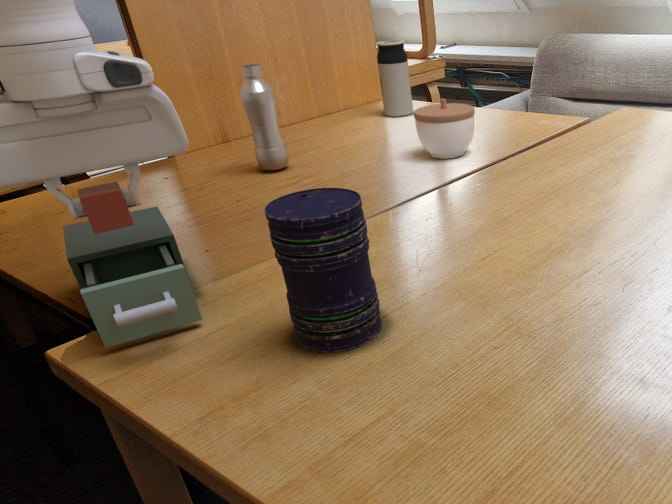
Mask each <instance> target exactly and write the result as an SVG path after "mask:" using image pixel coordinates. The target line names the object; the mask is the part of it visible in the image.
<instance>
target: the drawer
mask: <svg viewBox="0 0 672 504" xmlns="http://www.w3.org/2000/svg"><path fill="white" fill-rule="evenodd" d="M83 265H84V271H85V276H86V281H87V286H88V288H84V289H80V290H79V292H80V295H81V298H82V300H83V302H84V304H85V307H86V309H87V311H88V313H89V315H90V318H91V319H92V322H93V324H94V326H95V328H96V330H97V333H98V335H99V337H100V339H101V342H102V343H103V345H104V347H105V348H110V347H114V346H117V345H120V344H124V343H128V342H131V341H134V340H138V339H141V338H145V337H148V336H151V335H155V334H158V333H162V332H165V331H169V330H172V329H175V328H179V327H183V326H186V325H188V324H192V323H196V322H199V321H203V317H202V314H201V312H200V311H201V310H200V308H199V306H198V303H197V300H196V296H195V297H194V295H195V293H194V294H193V292H194V290H193V291H192V289H193V287H192V288H191V286H192V284H191V285H190V283H191V281H190V282H189V280H190V278H189V279H188V277H189V276H188V277H187V275H188V273H187V274H186V272H187V270H186V271H185V269H186V267H185V268H184V266H185V265H184V266H183V264H179V265H175V263H174V261H173V260H172V258H171V256H170V254H169V252H168V250H167V248H166V246H165V244H164V243H162V244H158V245H153V246H149V247H145V248H141V249H136V250H132V251H128V252H124V253H120V254H115V255H111V256H107V257H103V258H98V259H94V260H90V261H86V262H83Z"/></svg>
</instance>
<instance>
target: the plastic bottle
mask: <svg viewBox="0 0 672 504" xmlns="http://www.w3.org/2000/svg"><path fill="white" fill-rule="evenodd" d="M240 70H241V77H242V78H244V79H243V80H244V81H243V83H242V85H241V89H240V91H239V92H240V95H239V97H240V100H241V103H242V106H243V108H244V110H245V113H246V115H247V119H248V121H249V122H248V123H249V124H250V128H251V130H252V131H251V132H252V138H253V142H254V143H253V144H254V147H255V148H254V153H255V160H256V162H257V165H258V167H259V168H260V169H261V170H264V171H278V170H280V169H284V168H286V167H287V166H288V164H289V152H288V150H287V147H286V146H285V144H284V141H283V137H282V134H281V131H280V128H279V123H278V116H277V109H276V100H275V94H274V91H273V88H272V87H271V86H270V85H269V84H268V82H267V81H266V80H265V79H264V78H263V77H262V76H263V71H262V68H261V64H260V63H252V64H245V65H241V66H240Z"/></svg>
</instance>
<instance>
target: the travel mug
mask: <svg viewBox="0 0 672 504" xmlns="http://www.w3.org/2000/svg"><path fill="white" fill-rule="evenodd" d="M375 45H376V46H377V49H378V52H377V55H376V60H377V68H378V75H379V83H380V91H381V97H382V106H383V112H384V115H385V116H386V117H389V118H390V117H393V118H399V117H405V116H409V115H412V113H414V106H413V105H414V104H413V96H412V88H411V77H410V70H409V61H408V54H407V52H406V50H405V49H404V48H405V40H403V39H389V40H381V41H376V43H375Z"/></svg>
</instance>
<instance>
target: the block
mask: <svg viewBox="0 0 672 504" xmlns="http://www.w3.org/2000/svg"><path fill="white" fill-rule="evenodd" d="M121 189H122V188H121V186H120V184H119V182H118V181H112V182H107V183H102V184H98V185H91V186H87V187H81V188H78V189H77V195H78V198H79V199H80V201H81V203H82V206H83V208H84V210H85V213H86V215H87V216H86V217H87V221H89V222H90V224H91V227H92V229H93V231H94V234H98V233H102V232H107V231H111V230H115V229H120V228H124V227H129V226H133V225H134V222H133V220H132V217H131V215H130V212H131V211H130V210H129V208H128V207H127V204H126V202H125V199H124V196H123V194H122V191H121Z"/></svg>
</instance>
